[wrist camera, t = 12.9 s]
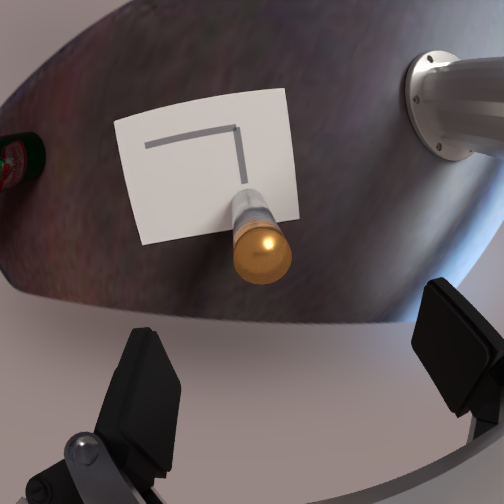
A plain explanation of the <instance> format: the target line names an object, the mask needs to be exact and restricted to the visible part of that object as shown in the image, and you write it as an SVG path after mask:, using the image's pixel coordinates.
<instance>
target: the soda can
mask: <svg viewBox="0 0 504 504" xmlns="http://www.w3.org/2000/svg"><path fill="white" fill-rule="evenodd" d="M44 161H45V148H44V144H43V141H42V140H41V138H40V137H39V136H38V135H37V134H36V133H34V132H23V133H16V134H10V135H4V136H0V193H1V192H3V191H5V190H8V189H10V188H12V187H15V186H17V185H20V184H22V183H24V182H27V181H30V180H32V179H34V178H35V177H37V176H38V175H39V173H40V172H41V170H42V168H43V165H44Z"/></svg>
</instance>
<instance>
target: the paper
mask: <svg viewBox="0 0 504 504" xmlns="http://www.w3.org/2000/svg"><path fill="white" fill-rule="evenodd" d="M114 126H115V132H116V137H117V143H118V148H119V153H120V158H121V163H122V167H123V172H124V177H125V181H126V185H127V189H128V194H129V198H130V202H131V206H132V209H133V213H134V217H135V221H136V224H137V228H138V232H139V235H140V239H141V242H142V245H146V244H151V243H157V242H162V241H168V240H173V239H179V238H185V237H190V236H196V235H202V234H208V233H214V232H220V231H226V230H232V229H233V225H232V206H231V205H232V200H233V197H234V196H235V195H236V194H237V193H238V192H239V191H241V190H243V189H254V190H257V191H258V192H260V193H261V194H262V196H263V197H264V199H265V201H266V203H267V205H268V207H269V209H270V211H271V213H272V215H273V217H274V219H275V221H276V222H282V221H289V220H296V219H299V208H298V197H297V187H296V177H295V168H294V159H293V150H292V142H291V134H290V126H289V118H288V111H287V104H286V97H285V90H284V88H279V89H268V90H258V91H249V92H242V93H234V94H228V95H221V96H215V97H209V98H204V99H199V100H194V101H189V102H184V103H179V104H175V105H171V106H166V107H162V108H158V109H155V110H151V111H147V112H143V113H140V114H136V115H133V116H130V117H126V118H123V119H120V120H117V121H114Z"/></svg>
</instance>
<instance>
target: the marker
mask: <svg viewBox="0 0 504 504" xmlns="http://www.w3.org/2000/svg"><path fill="white" fill-rule="evenodd" d="M231 206H232V225H233V258H234V266H235V269H236V271H237V272H238V274H239V275H240V276H241V277H242V278H243V279H244V280H246V281H248V282H250V283H253V284H259V285H263V284H269V283H272V282H275V281H277V280H278V279H280V278H281V277H282V276H283V275H284V274H285V273H286V272H287V271H288V269H289V267H290V264H291V260H292V253H291V249H290V247H289V245H288V243H287V241H286V239H285V237H284V235H283V233H282V231H281V230H280V228H279V227H278V225H277V223H276V221H275V219H274V217H273V215H272V213H271V211H270V209H269V207H268V205H267V203H266V201H265V199H264V197H263V196H262V194H261V193H260V192H258V191H257V190H254V189H243V190H241V191H239V192H238V193H237V194H236V195H235V196H234V197H233V200H232V205H231Z"/></svg>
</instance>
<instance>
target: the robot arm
mask: <svg viewBox="0 0 504 504" xmlns="http://www.w3.org/2000/svg"><path fill="white" fill-rule="evenodd" d="M405 97H406V105H407V110H408V114H409V117H410V120H411V123H412V125H413V127H414V129H415V131H416V133H417V135H418V137H419V138H420V140H421V141H422V143H423V144H424V145H425V146H426V147H427V148H428V149H429V150H430V151H431V152H432V153H434V154H435V155H437V156H439V157H441V158H443V159H447V160H451V161H460V160H464V159H466V158H468V157H469V156H471V155H472V154H473V153H474V152H478V153H482V154H486V155H489V156H493V157H497V158H500V159H503V160H504V57H490V58H478V59H468V60H460V59H459V58H457V57H456V56H454V55H453V54H451V53H449V52H446V51H442V50H432V51H428V52H424V53H422V54H420V55H419V56H417V57H416V58H415V60H414V61H413V62H412V63H411V66H410V68H409V70H408V73H407V77H406V83H405ZM411 345H412V348H413V350H414V351H415V353H416V355H417V356H418V358H419V359H420V361H421V362H422V364H423V366H424V367H425V369H426V370H427V372H428V374H429V375H430V377H431V379H432V380H433V382H434V384H435V385H436V387H437V389H438V390H439V392H440V394H441V395H442V397H443V399H444V401H445V402H446V404H447V406H448V408H449V409H450V411H451V412H453V413H455V414H456V416H457V418H459V417H461V416H463V415H464V414H466V413H468V412H469V411H471V413H472V419H471V425H470V430H469V435H468V440H467V443H466V445H465V446H463V447H461V448H459V449H458V450H456V451H454V452H452V453H450V454H448V455H447V456H445V457H443V458H441V459H439V460H437V461H435V462H433V463H431V464H428V465H426V466H424V467H422V468H420V469H418V470H415V471H413V472H411V473H408V474H406V475H403V476H401V477H398V478H396V479H393V480H391V481H388V482H385V483H383V484H379V485H377V486H373V487H370V488H367V489H364V490H361V491H357V492H354V493H350V494H347V495H343V496H339V497H335V498H331V499H327V500H322V501H318V502H312V503H307V504H504V339H503V338H502V337H501V335H500V334H499V333H498V332H497V331H496V330H495V329H494V328H493V326H491V324H490V323H489V322H488V321H487V320H486V319H485V318H484V317H483V316H482V315H481V314H480V313H479V312H478V311H477V309H475V307H473V305H472V304H470V302H469V301H468V300H466V298H465V297H464V296H463V295H461V294H460V293H459V292H458V291H457V290H456V289H455V288H454V287H453V286H452V285H451V284H450V283H449V282H448V281H447V280H446V279H445V278H443V277H440V278H436V279H433V280H430V281H428V283H427V285H426V286H425V287H424V291H423V295H422V300H421V304H420V309H419V313H418V317H417V321H416V325H415V329H414V332H413V336H412V340H411ZM180 395H181V384H180V381H179V379H178V377H177V375H176V373H175V371H174V369H173V366H172V364H171V362H170V360H169V358H168V356H167V354H166V352H165V350H164V347H163V345H162V343H161V340H160V338H159V336H158V334H157V332H156V331H152V330H151V329H150V328H149V327H145V328H134V329H132V331H131V334H130V336H129V338H128V341H127V343H126V346H125V349H124V351H123V354H122V356H121V359H120V362H119V364H118V367H117V368H116V370H115V371H114V374H113V377H112V379H111V382H110V385H109V387H108V390H107V393H106V396H105V399H104V402H103V405H102V408H101V411H100V414H99V417H98V420H97V423H96V426H95V429H94V433H91V432H80V433H77V434H75V435H74V436H72V437H71V438H70V439H69V440H68V442H67V443H66V446H65V448H64V457H65V459H63V460H61V461H60V462H58V463H56V464H54V465H53V466H51V467H49V468H48V469H46V470H44V471H42V472H41V473H39V474H37V475H35V476H33V477H32V478H31V479H30V480H29V482H28V483H27V485H26V498H24V497H21V498H20V499H19V501H18V502H17V503H16V504H167V503H166V502H165V501H164V500H163V498H162V497H161V496H160V495H159V493H158V492H157V491H156V489H155V488H154V487H153V485H154V479H155V478H166V474H167V472H169V471H171V468H172V460H173V450H174V442H175V434H176V425H177V417H178V410H179V402H180Z"/></svg>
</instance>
